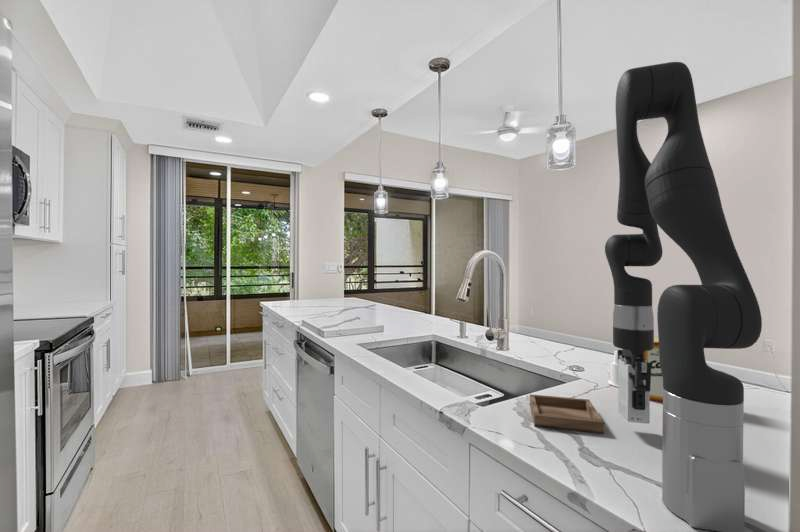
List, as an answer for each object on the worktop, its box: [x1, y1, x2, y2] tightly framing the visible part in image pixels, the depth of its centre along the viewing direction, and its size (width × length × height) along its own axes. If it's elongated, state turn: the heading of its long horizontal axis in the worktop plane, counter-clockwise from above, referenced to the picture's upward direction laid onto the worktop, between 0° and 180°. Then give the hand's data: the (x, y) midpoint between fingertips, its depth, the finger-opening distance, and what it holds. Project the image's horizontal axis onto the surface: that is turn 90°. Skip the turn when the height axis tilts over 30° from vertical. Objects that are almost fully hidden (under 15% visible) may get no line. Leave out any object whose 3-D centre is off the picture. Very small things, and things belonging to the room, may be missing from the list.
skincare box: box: [617, 359, 651, 424], centre depth 81 cm, size 6×4×12 cm
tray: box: [529, 393, 605, 435], centre depth 89 cm, size 14×14×2 cm
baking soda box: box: [644, 337, 663, 403], centre depth 102 cm, size 10×6×16 cm
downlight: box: [607, 350, 618, 388], centre depth 113 cm, size 8×7×10 cm
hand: (633, 403), depth 81 cm, fingers closed on skincare box, 6 cm apart
